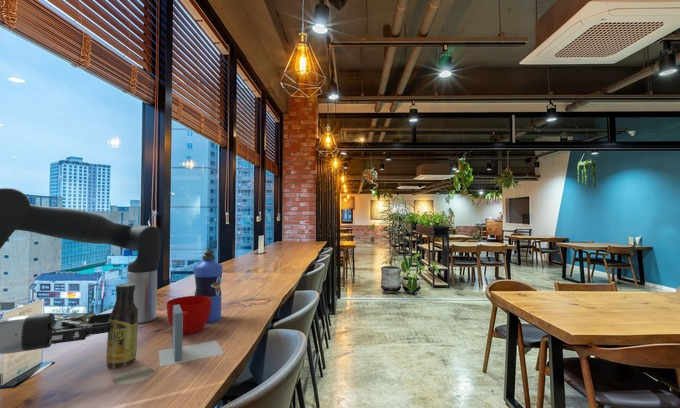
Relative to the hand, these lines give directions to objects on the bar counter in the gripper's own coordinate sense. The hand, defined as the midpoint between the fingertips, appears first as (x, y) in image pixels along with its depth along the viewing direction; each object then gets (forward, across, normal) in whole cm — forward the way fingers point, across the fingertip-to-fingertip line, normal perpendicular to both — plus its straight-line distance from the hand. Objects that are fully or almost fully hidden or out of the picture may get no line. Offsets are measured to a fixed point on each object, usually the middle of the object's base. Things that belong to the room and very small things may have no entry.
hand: (112, 321), depth 82 cm
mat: (+18, -1, +11) cm, 21 cm away
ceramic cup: (+19, +15, +11) cm, 27 cm away
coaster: (+5, -9, +11) cm, 15 cm away
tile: (+14, -1, +11) cm, 18 cm away
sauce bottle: (+2, 0, +11) cm, 11 cm away
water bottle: (+26, +28, +11) cm, 40 cm away
